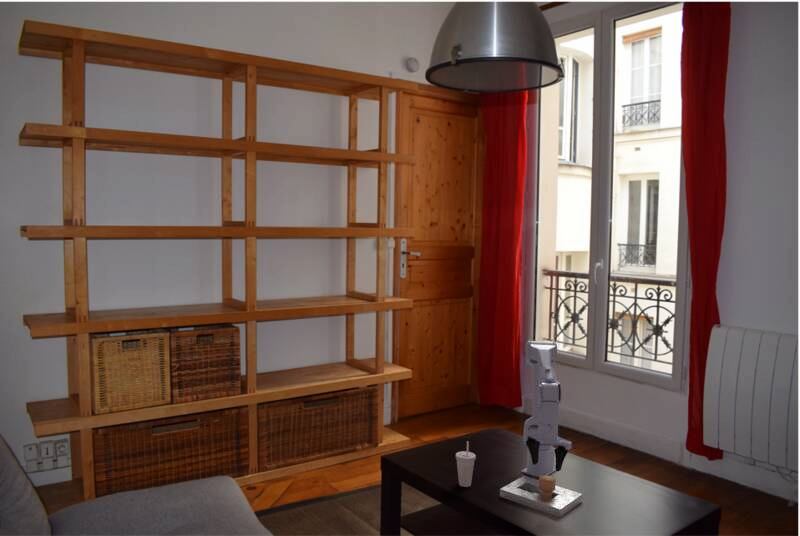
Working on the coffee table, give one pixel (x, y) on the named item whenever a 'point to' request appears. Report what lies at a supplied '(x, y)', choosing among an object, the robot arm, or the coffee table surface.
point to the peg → (547, 485)
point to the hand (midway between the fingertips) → (546, 467)
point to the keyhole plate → (541, 496)
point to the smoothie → (465, 466)
